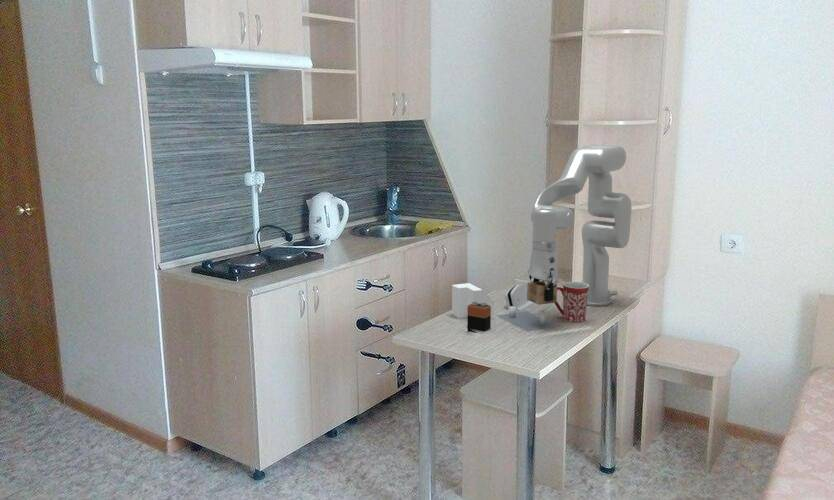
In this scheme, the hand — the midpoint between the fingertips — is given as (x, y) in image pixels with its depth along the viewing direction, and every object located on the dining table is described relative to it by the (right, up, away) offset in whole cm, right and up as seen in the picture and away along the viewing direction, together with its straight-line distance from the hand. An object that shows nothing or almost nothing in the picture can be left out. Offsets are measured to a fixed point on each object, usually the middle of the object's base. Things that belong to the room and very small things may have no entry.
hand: (541, 297), depth 227 cm
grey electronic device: (-3, -6, +26) cm, 27 cm away
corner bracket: (-22, -9, +13) cm, 27 cm away
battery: (-21, -11, -1) cm, 24 cm away
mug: (+11, -9, +9) cm, 17 cm away
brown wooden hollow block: (0, -1, 0) cm, 1 cm away
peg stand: (-4, -9, +7) cm, 12 cm away
